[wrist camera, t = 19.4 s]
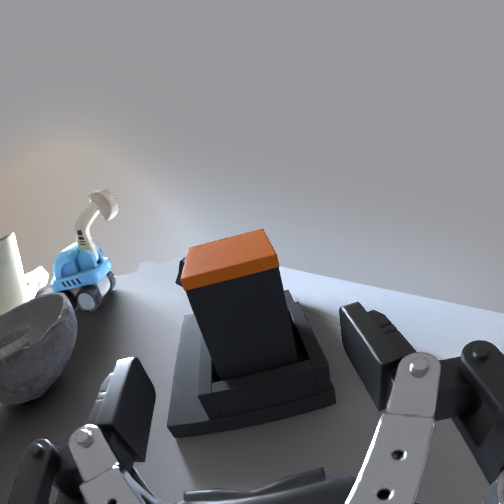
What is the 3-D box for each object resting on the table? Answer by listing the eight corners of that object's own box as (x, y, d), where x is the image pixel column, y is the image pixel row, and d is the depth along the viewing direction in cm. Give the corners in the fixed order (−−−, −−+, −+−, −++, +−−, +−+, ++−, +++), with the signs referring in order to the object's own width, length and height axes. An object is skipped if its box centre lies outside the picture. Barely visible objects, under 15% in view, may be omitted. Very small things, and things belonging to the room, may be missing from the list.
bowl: (71, 327, 40) (48, 280, 37) (122, 368, 29) (88, 303, 26) (-16, 384, 27) (-46, 337, 24) (-1, 456, 16) (-53, 394, 13)
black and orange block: (288, 339, 26) (262, 228, 22) (303, 382, 20) (276, 254, 17) (225, 355, 25) (188, 247, 22) (228, 401, 20) (180, 279, 17)
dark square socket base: (290, 300, 34) (284, 268, 33) (336, 403, 19) (332, 364, 18) (187, 326, 34) (176, 296, 33) (174, 438, 19) (151, 404, 18)
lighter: (231, 302, 42) (242, 273, 40) (225, 310, 40) (236, 281, 38) (182, 276, 43) (189, 246, 41) (174, 283, 42) (181, 252, 39)
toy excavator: (136, 305, 42) (94, 191, 36) (56, 319, 44) (16, 224, 38) (152, 280, 50) (119, 182, 45) (77, 296, 52) (44, 211, 46)
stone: (0, 301, 62) (-7, 285, 60) (30, 281, 72) (24, 265, 70) (24, 307, 52) (15, 287, 51) (61, 282, 62) (53, 263, 61)
